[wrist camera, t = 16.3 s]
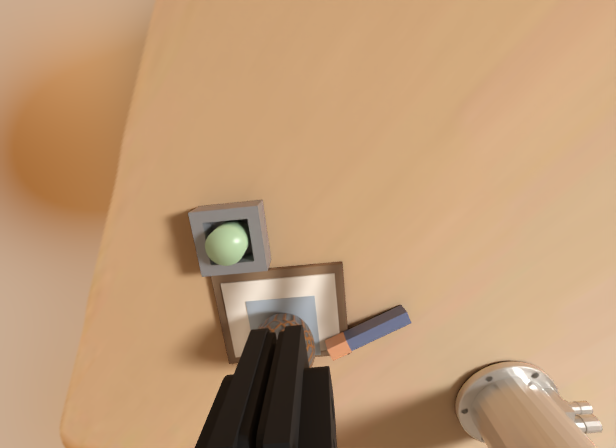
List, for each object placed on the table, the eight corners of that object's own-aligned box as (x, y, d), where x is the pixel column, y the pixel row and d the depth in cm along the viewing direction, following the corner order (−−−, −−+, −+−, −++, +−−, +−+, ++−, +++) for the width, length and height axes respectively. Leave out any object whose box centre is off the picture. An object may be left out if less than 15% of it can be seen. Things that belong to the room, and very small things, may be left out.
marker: (401, 304, 35) (406, 312, 34) (405, 315, 36) (411, 323, 34) (324, 340, 36) (327, 349, 34) (330, 350, 36) (333, 360, 34)
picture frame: (341, 261, 34) (342, 265, 33) (349, 350, 37) (349, 356, 36) (212, 273, 35) (210, 277, 34) (230, 359, 38) (228, 365, 37)
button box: (262, 199, 32) (257, 205, 29) (271, 259, 34) (267, 270, 31) (198, 206, 33) (187, 212, 30) (211, 265, 34) (201, 276, 32)
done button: (248, 217, 32) (240, 227, 28) (254, 250, 33) (246, 264, 29) (214, 220, 32) (201, 230, 29) (220, 253, 33) (209, 267, 30)
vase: (245, 333, 36) (224, 393, 27) (279, 292, 34) (268, 343, 26) (291, 363, 37) (285, 430, 28) (326, 325, 35) (331, 383, 27)
